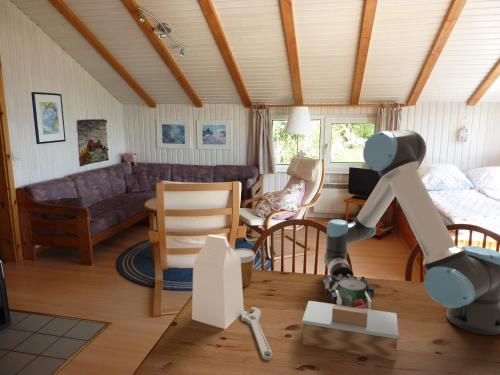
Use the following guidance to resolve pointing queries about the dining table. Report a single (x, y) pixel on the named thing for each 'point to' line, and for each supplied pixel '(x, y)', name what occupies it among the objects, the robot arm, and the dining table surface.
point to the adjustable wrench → (257, 331)
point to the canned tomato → (352, 292)
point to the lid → (351, 319)
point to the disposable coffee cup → (246, 265)
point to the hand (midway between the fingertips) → (355, 304)
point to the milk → (217, 283)
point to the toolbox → (350, 341)
